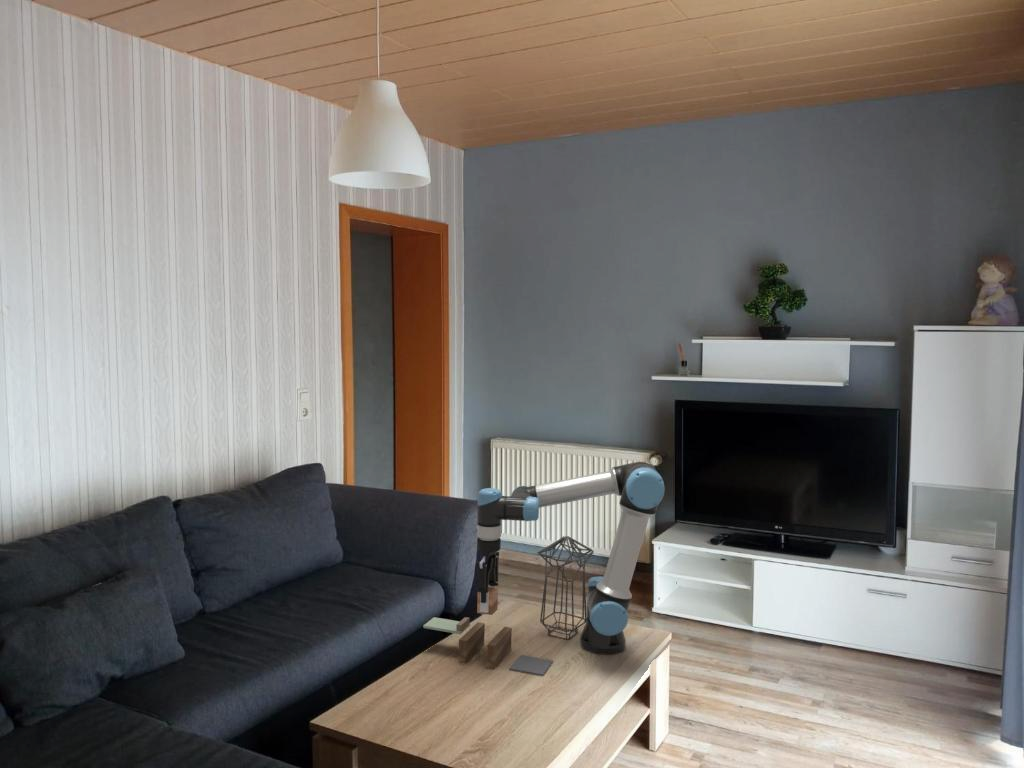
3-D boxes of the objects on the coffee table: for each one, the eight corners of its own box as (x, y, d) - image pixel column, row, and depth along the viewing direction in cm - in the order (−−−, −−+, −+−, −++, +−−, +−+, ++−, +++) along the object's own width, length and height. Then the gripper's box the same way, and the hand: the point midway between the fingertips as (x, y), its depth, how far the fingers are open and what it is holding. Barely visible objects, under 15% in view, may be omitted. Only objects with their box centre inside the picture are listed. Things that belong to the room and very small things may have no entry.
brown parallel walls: (511, 649, 269) (511, 627, 268) (493, 669, 254) (494, 646, 253) (477, 643, 273) (477, 622, 272) (458, 662, 258) (458, 639, 257)
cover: (469, 625, 269) (470, 617, 269) (460, 634, 261) (460, 625, 261) (433, 619, 273) (434, 611, 273) (423, 627, 266) (423, 619, 265)
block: (497, 609, 264) (497, 588, 263) (491, 615, 259) (492, 593, 258) (483, 607, 265) (483, 586, 265) (477, 612, 261) (477, 591, 260)
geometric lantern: (592, 632, 286) (597, 535, 282) (571, 648, 273) (575, 546, 269) (553, 621, 295) (557, 526, 291) (530, 636, 281) (534, 537, 277)
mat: (553, 662, 261) (553, 660, 261) (543, 676, 250) (543, 674, 250) (520, 656, 264) (520, 654, 264) (509, 670, 254) (509, 668, 254)
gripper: (488, 529, 270) (486, 598, 272) (467, 543, 253) (465, 616, 255) (509, 531, 267) (508, 601, 269) (489, 546, 250) (488, 620, 252)
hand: (487, 608), depth 262 cm, fingers closed on block, 5 cm apart
